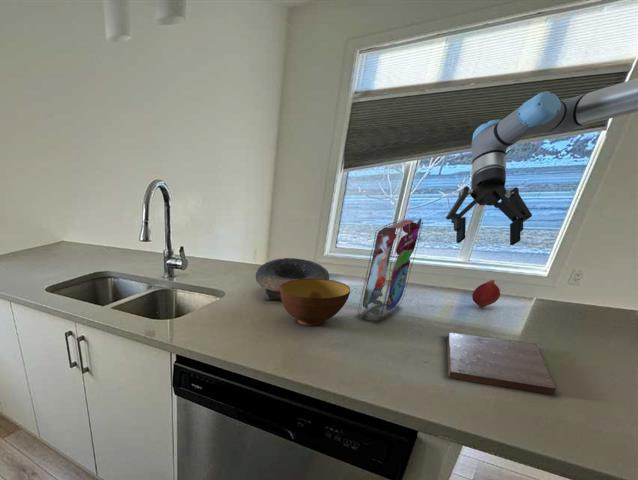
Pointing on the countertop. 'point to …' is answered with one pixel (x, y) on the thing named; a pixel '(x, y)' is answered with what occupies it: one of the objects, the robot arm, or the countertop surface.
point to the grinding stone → (287, 274)
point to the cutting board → (498, 363)
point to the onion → (486, 294)
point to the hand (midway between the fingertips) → (487, 241)
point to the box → (382, 261)
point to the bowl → (313, 299)
